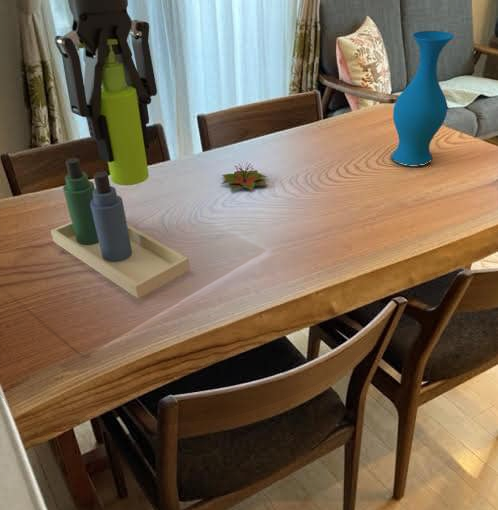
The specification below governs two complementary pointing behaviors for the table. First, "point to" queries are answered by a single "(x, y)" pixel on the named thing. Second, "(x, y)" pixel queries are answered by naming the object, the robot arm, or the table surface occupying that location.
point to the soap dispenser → (122, 123)
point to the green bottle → (80, 202)
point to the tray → (128, 260)
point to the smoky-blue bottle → (110, 220)
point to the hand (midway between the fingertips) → (124, 152)
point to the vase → (421, 103)
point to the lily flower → (244, 179)
